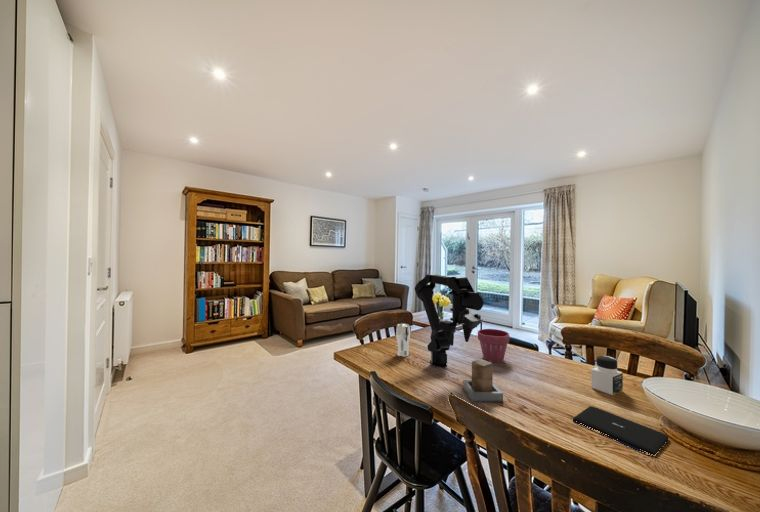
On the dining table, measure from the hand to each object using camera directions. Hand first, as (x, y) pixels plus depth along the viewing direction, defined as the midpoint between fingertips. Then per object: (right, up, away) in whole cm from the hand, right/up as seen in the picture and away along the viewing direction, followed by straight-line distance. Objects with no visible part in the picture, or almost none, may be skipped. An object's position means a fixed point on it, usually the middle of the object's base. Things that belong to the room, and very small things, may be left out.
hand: (459, 343), depth 118 cm
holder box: (+3, -13, -17) cm, 22 cm away
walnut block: (+3, -12, -17) cm, 21 cm away
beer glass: (-22, -13, +23) cm, 35 cm away
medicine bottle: (+51, -13, -13) cm, 55 cm away
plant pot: (+21, -13, +18) cm, 31 cm away
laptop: (+35, -14, -37) cm, 53 cm away
